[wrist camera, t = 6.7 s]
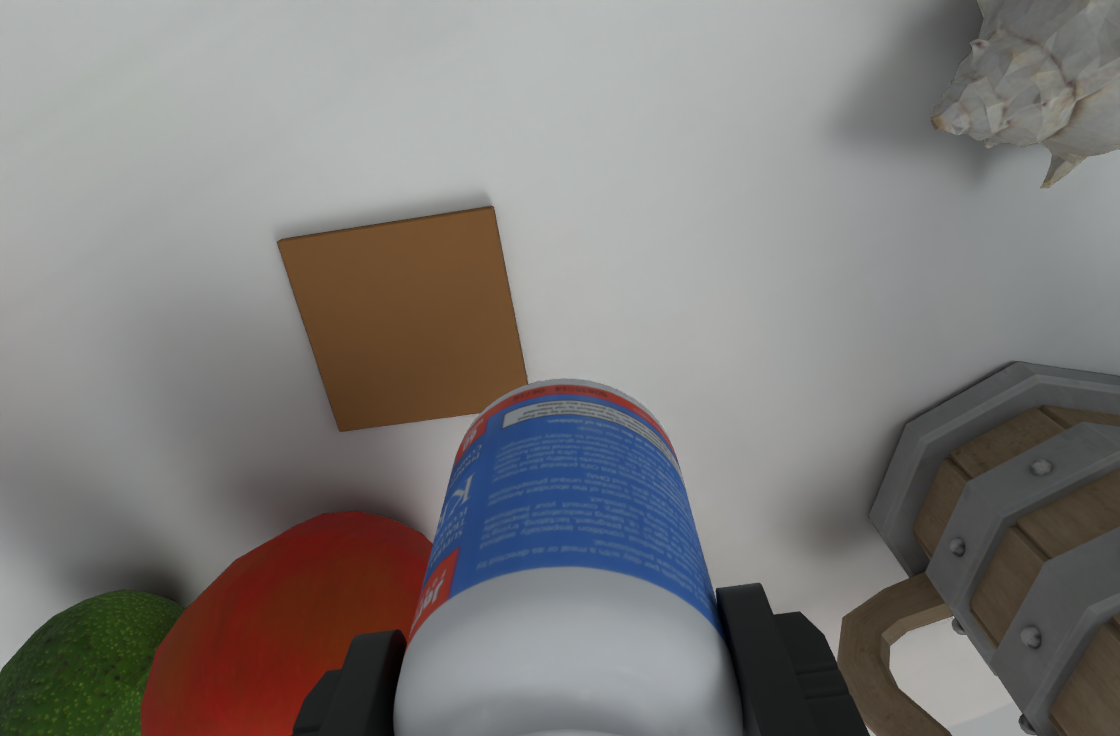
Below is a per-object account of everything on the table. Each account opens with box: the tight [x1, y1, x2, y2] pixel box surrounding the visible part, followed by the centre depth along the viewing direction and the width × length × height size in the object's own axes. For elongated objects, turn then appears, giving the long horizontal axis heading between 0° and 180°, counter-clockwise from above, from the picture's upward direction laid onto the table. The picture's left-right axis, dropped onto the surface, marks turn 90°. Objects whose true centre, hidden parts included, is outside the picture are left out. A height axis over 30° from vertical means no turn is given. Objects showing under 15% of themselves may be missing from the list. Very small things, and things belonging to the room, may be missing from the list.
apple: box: [141, 511, 433, 736], centre depth 28 cm, size 12×12×14 cm
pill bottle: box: [393, 379, 743, 736], centre depth 12 cm, size 6×5×10 cm
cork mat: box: [277, 206, 528, 432], centre depth 29 cm, size 9×9×1 cm
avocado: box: [0, 590, 185, 736], centre depth 31 cm, size 8×8×12 cm
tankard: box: [837, 362, 1120, 736], centre depth 27 cm, size 20×13×15 cm, turn 127°
